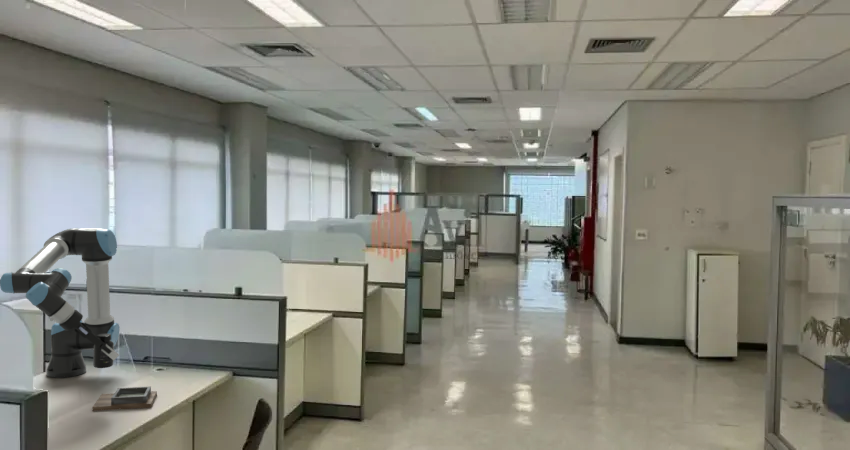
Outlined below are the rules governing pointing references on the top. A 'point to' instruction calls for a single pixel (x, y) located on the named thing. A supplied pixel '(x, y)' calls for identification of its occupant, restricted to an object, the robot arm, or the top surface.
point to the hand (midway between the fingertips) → (114, 355)
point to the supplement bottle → (99, 356)
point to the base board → (126, 399)
